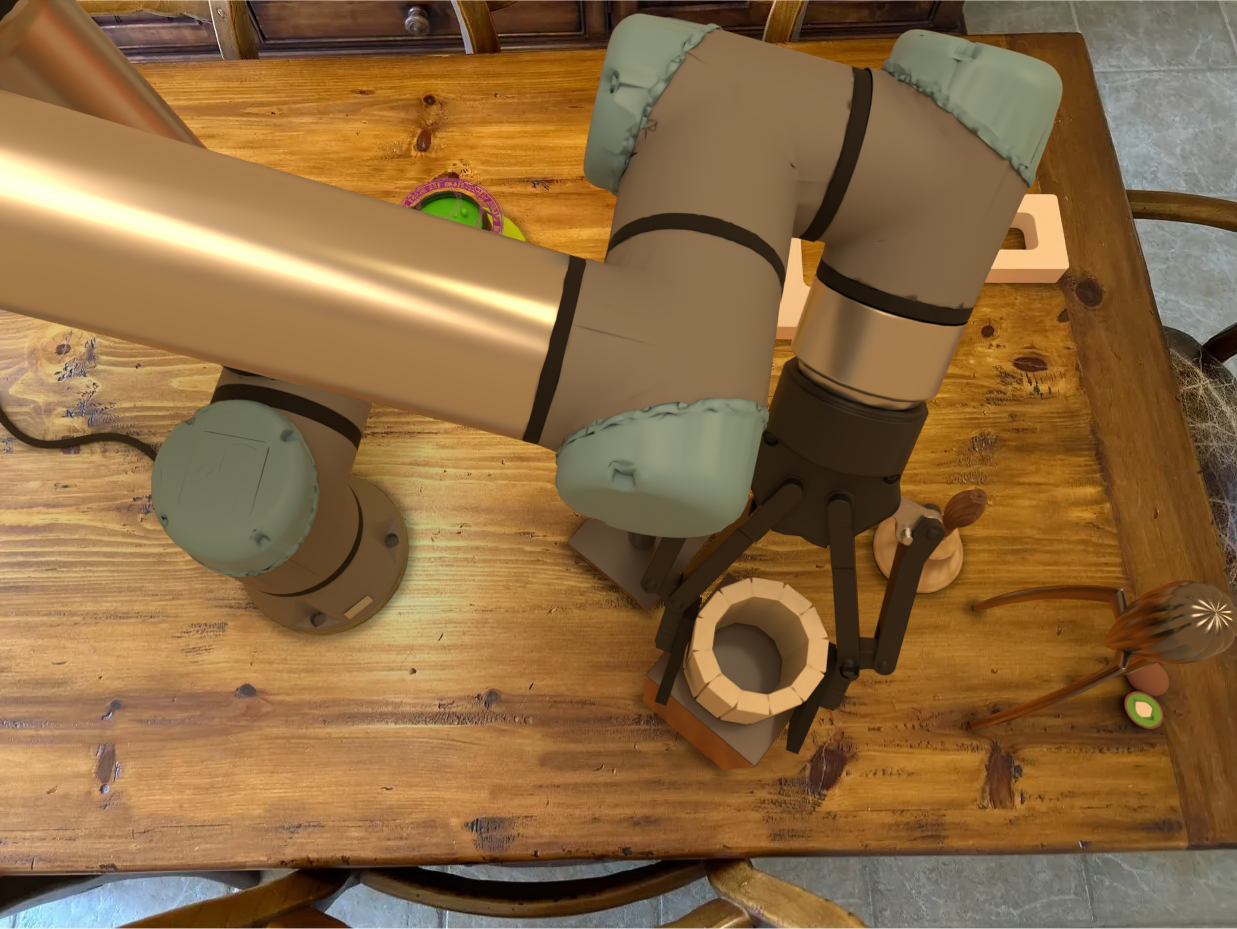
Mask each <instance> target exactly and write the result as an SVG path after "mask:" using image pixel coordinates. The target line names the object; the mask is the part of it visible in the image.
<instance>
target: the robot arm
mask: <svg viewBox="0 0 1237 929" xmlns="http://www.w3.org/2000/svg"><path fill="white" fill-rule="evenodd" d="M602 63H603V64H602V67H601V72H600V77H599V82H598V87H597V92H596V96H595V99H594V103H593V109H592V113H591V119H590V122H589V128H588V133H587V139H586V144H585V151H584V157H583V165H582V166H583V173H584V176H585V179H586V180H587V181H588V182H589V183H590V184H591V185H592V186H594V187H596V188H598V189H602V190H605V191H608V192H609V193H611V194H612V195H613V196H614V197H615V198H616V201H615V204H614V205H615V206H614V211H613V215H612V222H611V227H610V228H611V229H610V233H609V238H608V243H607V247H606V253H605V256H604V260H603V262H602V261H598V260H594V259H593V258H592V259H591V258H588V257H586V258H585V257H580V256H577V255H573V254H570V253H566V252H563V251H559V250H556V249H552V248H549V247H545V246H542V245H538V244H535V243H532V242H528V241H526V242H525V241H522V240H518V239H515V238H511V237H508V236H504V235H501V234H498V233H494V232H491V231H487V230H484V229H480V228H477V227H473V226H470V225H467V224H463V223H460V222H456V221H453V220H449V219H446V218H442V217H439V216H435V215H432V214H429V213H425V212H422V211H418V210H415V209H411V208H408V207H409V206H408V207H404V205H402V204H401V205H400V204H399V203H398V204H397V203H395V202H394V203H393V202H390V201H387V200H385V199H384V200H383V199H380V198H376V197H373V196H370V195H365V194H363V193H359V192H356V191H352V190H349V189H347V188H346V189H345V188H343V187H339V186H336V185H333V184H329V183H325V182H323V181H322V182H321V181H318V180H314V179H312V178H307V177H305V176H300V175H297V174H294V173H290V172H288V171H287V172H286V171H283V170H281V169H277V168H273V167H270V166H266V165H263V164H259V163H256V162H253V161H249V160H246V159H242V158H239V157H237V156H236V157H235V156H232V155H229V154H225V153H222V152H218V151H216V150H215V151H214V150H211V149H209V148H208V147H207V146H206V145H205V144H204V143H203V141H201V140H200V138H199V137H198V136H197V134H195V132H194V131H193V130H192V129H191V128H190V126H188V124H187V123H185V121H184V120H183V119H182V118H181V117H180V116H179V115H178V114H177V112H175V110H174V109H173V108H172V106H170V104H169V103H168V102H167V101H166V100H165V98H163V96H162V95H161V94H160V93H159V92H158V91H157V90H156V89H155V87H154V86H153V85H152V84H151V83H150V82H149V81H148V80H147V79H146V77H145V76H144V74H142V73H141V72H140V71H139V69H138V68H137V67H136V66H135V65H134V64H133V63H132V62H131V61H130V59H128V57H127V56H126V55H125V53H123V52H122V51H121V49H120V48H119V47H118V46H117V45H116V43H115V42H114V41H113V40H112V39H111V38H110V37H109V36H108V34H107V33H106V32H105V31H104V30H103V29H102V27H101V26H99V24H98V23H97V22H96V21H95V20H94V19H93V18H92V17H91V15H89V13H88V12H87V11H86V10H85V9H84V8H83V6H82V5H81V4H80V3H79V2H78V1H77V0H0V310H1V311H5V312H9V313H11V314H12V313H13V314H17V315H20V316H24V317H29V318H32V319H37V320H40V321H45V322H48V323H53V324H57V325H60V326H64V327H68V328H72V329H77V330H79V331H83V332H88V333H91V334H96V335H98V336H99V335H100V336H102V337H103V336H104V337H106V338H111V339H115V340H118V341H119V340H120V341H124V342H128V343H132V344H136V345H140V346H144V347H148V348H152V349H156V350H160V351H164V352H168V353H171V354H176V355H179V356H183V357H187V358H190V359H191V358H192V359H195V360H199V361H204V362H207V363H211V364H215V365H219V366H220V367H222V369H221V372H220V374H219V376H218V380H217V383H216V385H215V388H214V391H213V394H212V397H211V399H210V402H209V404H207V405H205V406H204V405H203V406H202V407H200V408H197V409H196V410H195V411H194V415H193V416H192V417H191V418H189V419H187V420H185V419H183V420H180V421H179V422H178V423H177V424H176V425H175V426H174V427H172V429H171V430H170V431H169V433H168V435H167V436H166V438H165V439H164V441H163V442H162V443H161V445H160V447H159V449H158V451H156V450H154V449H153V448H151V446H149V445H148V444H146V443H145V442H143V441H141V440H139V439H138V438H135V437H133V436H131V435H127V434H123V433H119V432H97V433H88V434H84V435H79V436H74V437H69V438H62V439H51V440H49V439H48V440H47V439H40V438H36V437H32V436H30V435H28V434H26V433H25V432H23V431H22V430H21V429H19V428H18V427H17V426H16V425H15V424H14V423H13V421H12V420H11V419H10V418H9V417H8V416H7V414H6V413H5V411H4V410H3V408H2V407H1V406H0V424H1V425H2V426H3V428H5V430H6V431H7V432H8V433H9V434H11V435H12V436H13V437H14V438H16V439H17V440H18V441H20V442H22V443H24V444H26V445H28V446H32V447H36V448H41V449H62V448H68V447H73V446H79V445H85V444H89V443H95V442H106V441H109V442H119V443H124V444H127V445H129V446H132V447H134V448H136V449H137V450H139V451H141V452H142V453H143V454H144V455H145V456H147V457H148V459H150V460H151V461H152V462H153V467H152V471H151V477H150V478H151V479H150V498H151V502H152V507H153V511H154V513H155V516H156V518H157V521H158V523H159V524H160V526H161V527H162V529H163V531H164V532H165V534H166V535H167V537H168V538H169V539H170V540H171V541H172V542H173V543H174V544H175V545H176V546H177V547H178V548H179V549H181V550H182V551H183V552H185V553H186V554H187V555H188V556H189V557H190V558H191V559H192V560H194V561H195V562H196V563H197V564H199V565H201V566H203V567H204V568H205V569H207V570H209V571H212V572H214V573H217V574H220V575H224V576H228V577H230V578H231V579H234V580H236V581H238V582H240V583H242V584H243V587H244V589H245V591H246V593H247V595H248V597H249V598H250V600H251V601H252V603H253V604H254V605H255V606H256V607H257V608H258V610H259V611H260V612H261V613H262V614H263V615H265V617H267V618H268V619H270V620H271V621H273V622H274V623H276V624H277V625H280V626H281V627H284V628H286V629H289V630H291V631H293V632H297V633H301V634H304V635H305V634H306V635H317V636H323V635H331V634H337V633H341V632H344V631H347V630H351V629H353V628H355V627H357V626H360V625H361V624H363V623H364V622H366V621H368V620H369V619H371V618H372V617H373V616H375V615H376V614H377V613H379V611H381V609H383V608H384V607H385V606H386V605H387V603H389V601H390V599H391V598H392V597H393V596H394V594H395V593H396V591H397V589H398V587H399V586H400V584H401V582H402V580H403V577H404V574H405V571H406V568H407V564H408V560H409V537H408V530H407V526H406V524H405V520H404V518H403V516H402V514H401V512H400V510H399V509H398V507H397V506H396V504H394V502H393V501H392V500H391V499H390V497H389V496H388V495H387V494H386V493H385V492H384V491H382V490H381V489H380V488H379V487H378V486H377V485H375V484H373V483H371V482H370V481H368V480H365V479H364V478H362V477H360V476H357V475H354V474H352V470H353V467H354V464H355V461H356V457H357V456H358V455H357V454H358V450H359V447H360V444H361V441H362V438H363V435H364V432H365V430H366V426H367V423H368V419H369V417H370V412H371V410H372V407H373V405H378V406H382V407H386V408H389V409H395V410H398V411H401V412H406V413H410V414H413V415H417V416H422V417H425V418H429V419H433V420H437V421H440V422H446V423H449V424H452V425H457V426H461V427H465V428H468V429H473V430H476V431H482V432H486V433H489V434H492V435H497V436H501V437H505V438H508V439H513V440H516V441H521V442H525V443H529V444H532V445H537V446H538V447H541V448H543V449H547V450H549V451H552V452H554V453H555V454H554V456H555V465H556V471H555V483H554V484H555V488H556V491H557V493H558V496H559V498H560V499H561V500H562V501H563V502H564V504H565V505H566V506H568V507H570V509H572V510H573V511H574V512H576V513H577V514H579V515H582V516H584V517H586V518H587V519H588V518H593V519H598V520H601V521H603V522H605V523H606V524H607V525H608V526H611V527H614V528H617V529H621V530H625V531H629V532H634V533H639V534H645V535H651V536H660V537H661V539H660V541H659V543H658V545H657V547H656V549H655V551H654V553H653V555H652V557H651V559H650V561H649V563H648V566H647V568H646V570H645V572H644V575H643V577H642V579H641V583H640V585H641V588H642V589H643V590H644V591H645V592H646V593H650V594H654V593H656V594H657V595H658V596H660V597H661V598H662V599H661V600H662V601H663V604H664V610H663V613H662V616H661V620H660V622H659V626H658V628H657V631H656V634H655V638H654V644H655V648H656V649H658V650H660V651H663V652H664V651H666V652H669V653H671V654H670V657H669V660H668V663H667V666H666V669H665V672H664V675H663V678H662V681H661V684H660V687H659V690H658V693H657V696H656V699H655V702H657V703H660V704H662V705H665V706H666V705H667V702H668V699H669V697H670V694H671V691H672V688H673V685H674V682H675V679H676V676H677V673H678V670H679V668H680V665H681V662H682V659H683V656H684V653H685V650H686V647H687V644H688V641H689V639H690V636H691V633H692V630H693V627H694V624H695V621H696V618H697V615H698V611H699V608H700V607H701V605H702V601H703V597H702V595H703V594H704V592H706V591H707V590H708V589H709V588H710V587H711V586H712V585H713V584H714V583H715V582H716V581H717V580H718V579H719V578H720V577H721V576H722V575H723V574H724V573H725V572H726V571H727V570H728V569H729V568H730V567H731V566H732V565H733V564H734V563H735V562H736V561H737V560H738V559H739V558H740V557H741V556H742V555H743V554H744V553H745V552H746V551H747V550H748V549H749V548H750V547H751V546H752V545H754V544H757V543H758V542H759V541H760V540H761V539H763V537H765V535H766V534H768V533H769V531H772V532H775V533H778V534H780V535H784V536H792V537H800V538H802V539H803V540H805V541H806V542H808V543H809V544H811V545H813V546H816V547H819V548H822V549H825V550H827V549H828V546H829V556H830V558H829V560H830V569H831V577H832V579H831V580H832V593H833V610H834V611H833V612H834V625H835V640H836V643H833V642H830V641H829V643H828V654H827V665H826V672H825V673H823V675H824V677H823V678H822V680H821V681H820V682H819V684H818V685H817V687H816V688H815V689H814V691H813V692H812V693H811V695H810V696H809V697H808V699H807V700H806V701H804V702H802V704H800V705H798V706H796V707H795V709H794V711H793V713H792V716H791V718H790V720H789V723H788V728H787V738H786V746H785V751H787V752H790V753H793V754H795V755H799V754H800V751H801V749H802V748H803V747H802V746H803V744H804V742H805V740H806V738H807V735H808V733H809V731H810V729H811V726H812V724H813V722H814V720H815V718H816V715H817V713H818V711H819V709H820V708H823V709H825V710H829V711H831V712H834V711H836V710H837V709H838V708H839V707H840V706H841V704H842V701H843V700H844V697H845V695H846V692H847V691H848V689H849V686H850V685H851V682H855V681H856V680H858V679H859V678H860V674H861V671H862V670H863V671H864V670H874V672H875V673H877V675H880V676H890V675H892V674H893V673H894V672H895V671H896V668H897V664H898V662H899V657H900V654H901V650H902V646H903V642H904V639H905V636H906V632H907V629H908V625H909V621H910V617H911V614H912V610H913V606H914V603H915V599H916V595H917V593H916V592H917V588H918V585H919V581H920V577H921V574H922V570H923V566H924V563H925V562H926V561H927V559H928V558H929V557H930V556H931V554H932V553H933V552H934V551H935V549H936V548H937V547H938V545H939V544H940V543H941V542H942V540H943V539H944V536H945V531H944V525H943V519H942V514H943V513H942V510H941V508H940V507H939V506H938V505H937V504H935V503H932V502H931V503H924V504H922V505H921V504H920V503H918V502H915V501H914V500H913V499H910V498H908V497H906V496H905V495H902V492H901V491H902V490H901V480H902V476H903V474H904V471H905V469H906V467H907V465H908V462H909V460H910V457H911V455H912V453H913V451H914V448H915V446H916V444H917V442H918V439H919V438H920V435H921V433H922V430H923V428H924V425H925V423H926V421H927V418H928V416H929V408H928V405H927V401H929V400H931V399H933V398H935V397H937V396H938V393H939V391H940V389H941V387H942V385H943V382H944V380H945V378H946V375H947V373H948V371H949V368H950V366H951V364H952V361H953V359H954V356H955V354H956V352H957V349H958V347H959V345H960V342H961V340H962V337H963V335H964V333H965V330H966V328H967V326H968V323H969V320H970V319H971V316H972V314H973V311H974V309H975V306H976V302H977V301H978V298H979V295H980V294H981V291H982V290H983V287H984V285H985V284H986V283H985V280H986V278H987V276H988V274H989V272H990V270H991V267H992V265H993V263H994V261H995V259H996V257H997V254H998V252H999V250H1001V248H1002V246H1003V243H1004V242H1005V240H1006V237H1007V235H1008V233H1009V231H1010V226H1011V224H1012V222H1013V220H1014V217H1015V215H1016V213H1017V211H1018V209H1019V207H1020V204H1021V202H1022V200H1023V198H1024V196H1025V194H1027V192H1028V189H1031V188H1032V186H1033V184H1034V182H1035V180H1036V173H1037V170H1038V167H1039V165H1040V162H1041V159H1042V156H1043V154H1044V151H1045V149H1046V147H1047V143H1048V141H1049V139H1050V136H1051V133H1052V131H1053V128H1054V125H1055V123H1054V122H1055V119H1056V116H1057V113H1058V110H1059V108H1060V105H1061V102H1062V97H1063V88H1064V87H1063V82H1062V78H1061V75H1060V74H1059V73H1058V71H1057V70H1056V68H1054V67H1053V65H1051V64H1050V63H1047V62H1045V61H1043V60H1041V59H1038V58H1036V57H1033V56H1030V55H1027V54H1024V53H1021V52H1018V51H1015V50H1010V49H1006V48H1003V47H999V46H994V45H991V44H986V43H983V42H978V41H973V40H969V39H966V38H963V37H958V36H953V35H949V34H945V33H940V32H936V31H933V30H926V29H909V30H907V31H905V32H904V33H902V34H901V35H900V36H899V37H898V38H897V39H896V41H895V42H894V45H893V46H892V49H891V52H890V54H889V57H887V59H885V60H883V61H882V65H881V68H880V69H878V68H873V67H868V66H867V67H866V66H865V67H863V68H861V67H856V66H853V65H849V64H845V63H841V62H837V61H834V60H832V59H827V58H824V57H820V56H817V55H813V54H809V53H806V52H802V51H799V50H795V49H791V48H788V47H784V46H781V45H777V44H773V43H770V42H767V41H763V40H759V39H756V38H753V37H749V36H745V35H742V34H738V33H734V32H730V31H727V30H724V29H723V28H722V26H720V25H718V24H715V23H708V24H702V23H699V22H698V23H697V22H692V21H688V20H684V19H679V18H675V17H669V16H668V17H664V16H663V17H662V16H658V15H657V16H656V15H651V14H645V13H633V14H631V15H628V16H627V17H625V18H623V19H622V20H621V21H620V22H619V23H618V24H617V25H616V26H615V27H614V29H613V31H612V33H611V35H610V38H609V41H608V44H607V48H606V53H605V55H604V59H603V62H602ZM792 238H798V239H801V241H807V242H810V243H815V242H820V243H824V245H823V250H822V253H821V257H820V258H819V262H818V265H817V268H816V270H815V274H814V276H813V279H812V282H811V285H810V286H809V287H810V290H809V293H808V296H807V299H806V302H805V305H804V308H803V310H802V313H801V316H800V319H799V322H798V325H797V328H796V331H795V334H794V336H793V339H791V342H790V349H791V351H792V353H793V355H794V356H793V357H792V358H790V359H788V360H786V361H785V362H784V364H783V365H782V368H781V373H780V375H779V378H778V381H777V384H776V386H775V389H774V392H773V395H772V398H771V401H770V404H769V403H768V402H769V396H770V387H771V379H772V371H773V364H774V356H775V347H776V340H777V339H776V332H777V325H778V317H779V309H780V301H781V299H782V295H783V290H784V283H785V280H786V273H787V266H788V260H789V253H790V246H791V239H792ZM768 404H769V407H768ZM750 492H751V493H752V496H751V497H750V498H749V496H750ZM891 516H892V517H893V518H894V519H895V520H896V523H895V536H896V539H897V540H898V544H897V548H896V552H895V556H894V560H893V564H892V567H891V571H890V575H889V579H888V578H887V584H886V587H885V592H884V595H883V599H882V603H881V606H880V611H879V615H878V619H877V624H876V626H875V631H874V634H873V637H870V636H861V630H860V629H861V628H860V610H859V608H860V607H859V592H858V574H857V572H858V571H857V554H856V537H858V536H859V535H861V534H863V533H865V532H866V531H868V530H870V529H871V528H874V527H875V526H877V525H879V524H880V523H881V522H882V521H884V520H886V519H888V518H890V517H891ZM714 533H715V534H717V533H718V534H717V535H716V536H715V537H714V538H713V539H711V541H709V542H708V543H707V544H706V545H705V547H704V548H703V549H702V550H701V552H700V553H699V554H698V555H697V556H696V558H695V559H694V560H693V561H692V562H691V563H690V564H689V565H688V566H687V567H686V568H685V569H684V570H683V571H682V572H681V571H679V572H676V571H675V570H674V569H672V568H671V567H672V566H673V564H674V562H675V560H676V558H677V556H678V554H679V552H680V550H681V548H682V547H683V545H684V543H685V541H686V539H687V538H689V537H699V536H706V535H710V534H714ZM715 534H714V535H715ZM680 572H681V573H680Z"/></svg>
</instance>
